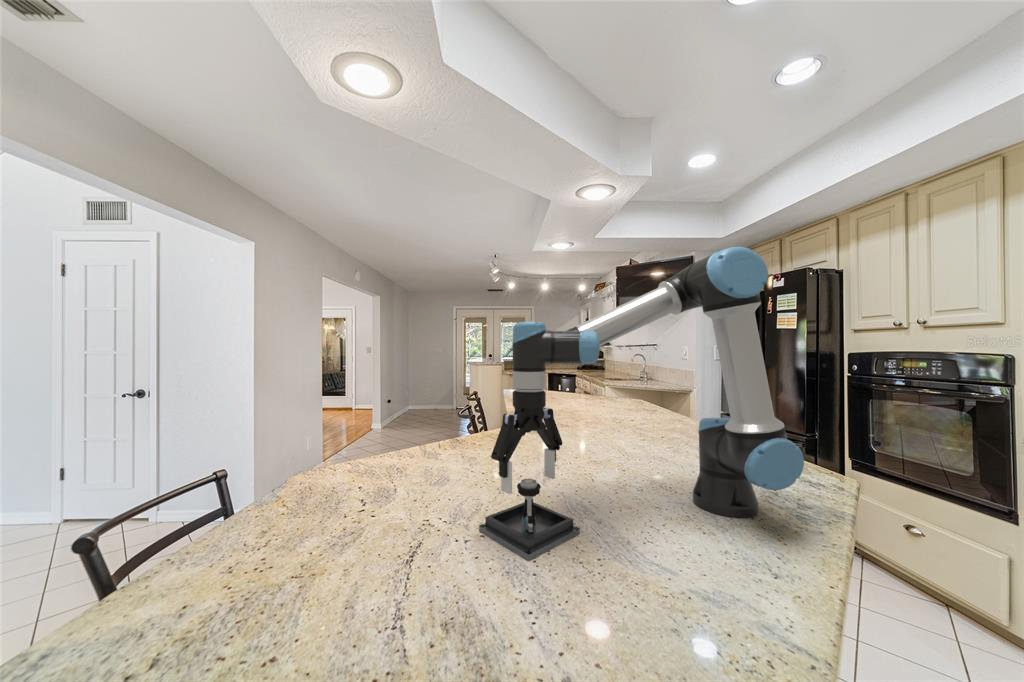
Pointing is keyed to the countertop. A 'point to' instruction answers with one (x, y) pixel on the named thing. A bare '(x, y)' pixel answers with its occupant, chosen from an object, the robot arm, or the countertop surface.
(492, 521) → the grey metal square tray
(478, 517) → the countertop surface
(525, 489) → the push button
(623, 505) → the countertop surface
